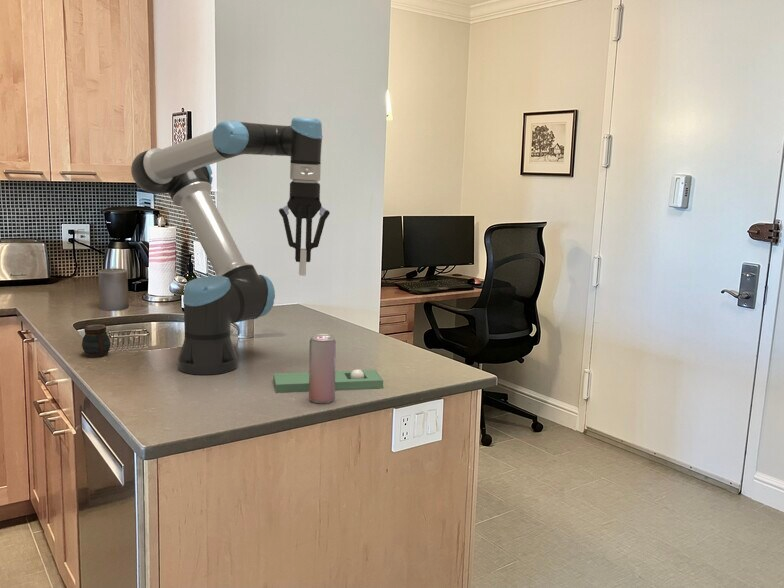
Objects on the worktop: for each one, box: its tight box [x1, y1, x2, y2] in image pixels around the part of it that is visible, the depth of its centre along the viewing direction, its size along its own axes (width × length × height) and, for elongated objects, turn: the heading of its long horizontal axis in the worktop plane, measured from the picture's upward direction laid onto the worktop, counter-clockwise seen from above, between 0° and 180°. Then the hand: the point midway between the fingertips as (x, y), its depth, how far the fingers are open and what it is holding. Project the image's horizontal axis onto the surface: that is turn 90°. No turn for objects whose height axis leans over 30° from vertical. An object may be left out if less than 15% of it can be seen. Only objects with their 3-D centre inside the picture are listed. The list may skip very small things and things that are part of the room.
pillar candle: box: [97, 267, 130, 312], centre depth 250 cm, size 10×10×15 cm
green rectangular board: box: [272, 369, 384, 394], centre depth 173 cm, size 26×9×2 cm, turn 104°
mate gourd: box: [79, 321, 111, 358], centre depth 191 cm, size 7×8×10 cm
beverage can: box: [308, 333, 337, 405], centre depth 161 cm, size 6×6×15 cm
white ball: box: [350, 368, 364, 379], centre depth 175 cm, size 4×4×4 cm
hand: (302, 274), depth 179 cm, fingers closed
